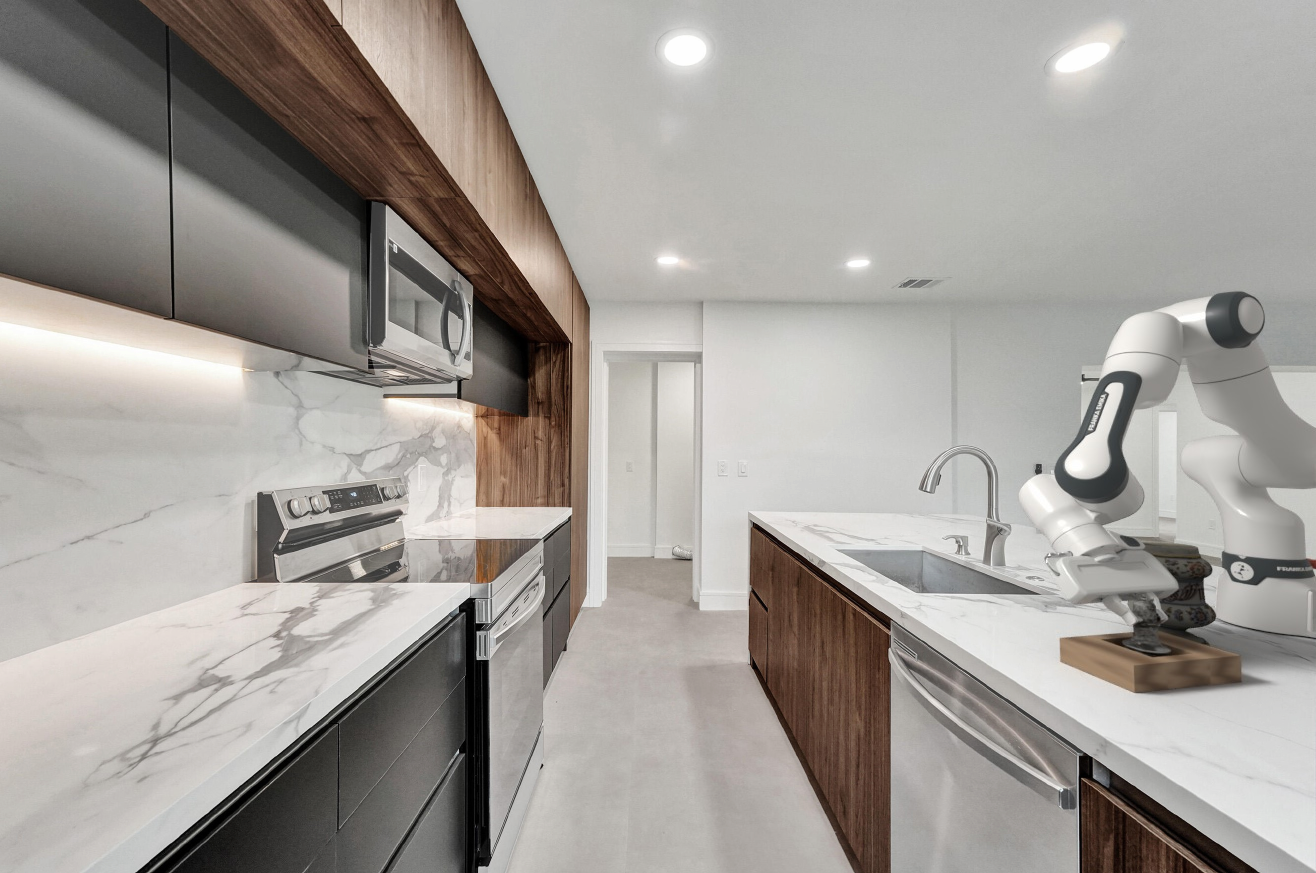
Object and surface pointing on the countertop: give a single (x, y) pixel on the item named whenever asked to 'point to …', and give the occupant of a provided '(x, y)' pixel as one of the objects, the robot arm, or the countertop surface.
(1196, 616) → the apothecary jar
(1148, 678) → the wooden tray
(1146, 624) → the salt shaker
